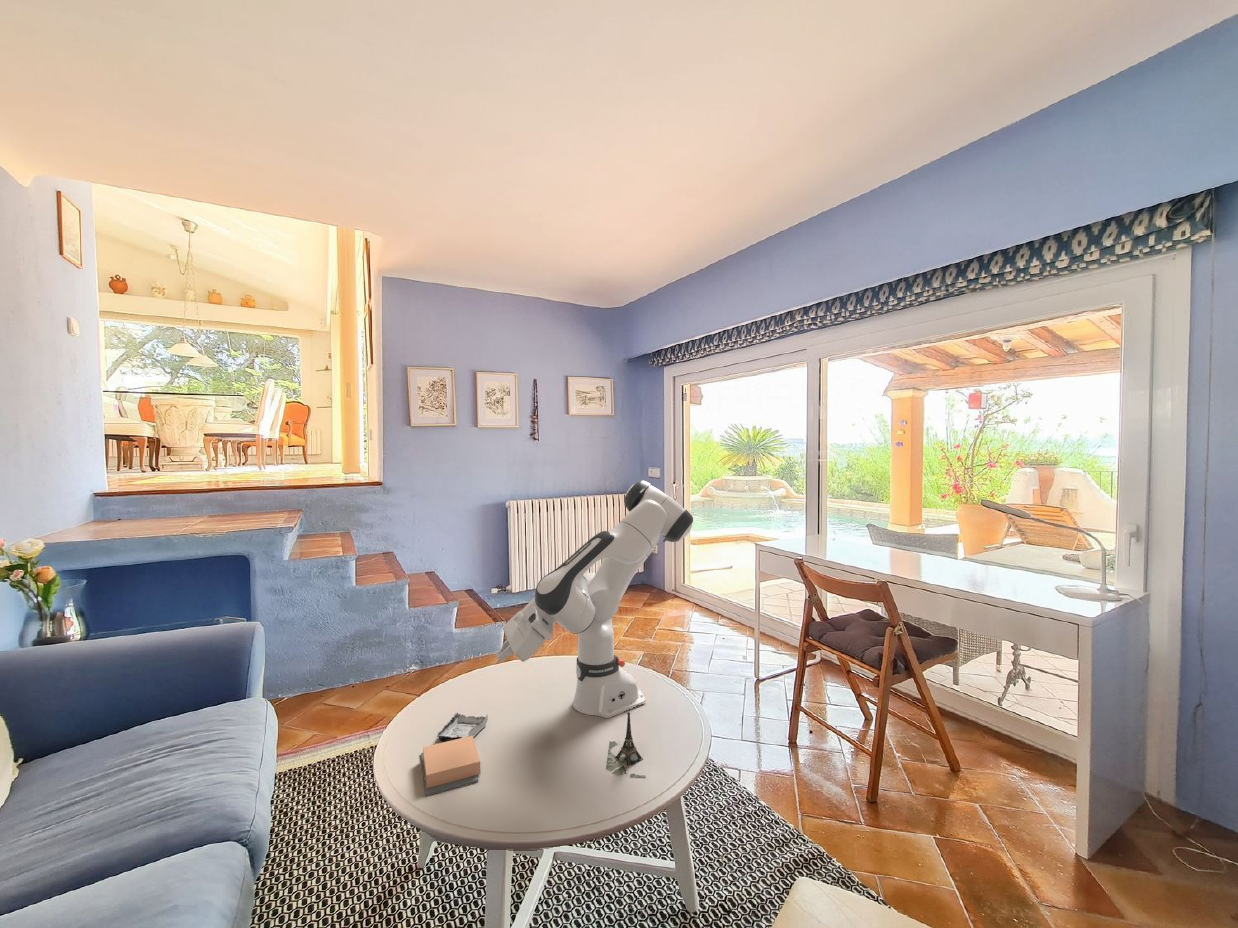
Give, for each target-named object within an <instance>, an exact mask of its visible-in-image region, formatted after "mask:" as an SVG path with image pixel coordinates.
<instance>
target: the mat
mask: <svg viewBox="0 0 1238 928" xmlns="http://www.w3.org/2000/svg"><path fill="white" fill-rule="evenodd" d="M420 756H421V757H420V758H421V765H422V775H423V783H424V793H425V797H428V795H429V796H432V795H435V794H439V793H442V792H447V791H450V790H453V789H457V788H461V787H464V786H469V785H471V784H475V783H479V776H478V775H474V776H470V777H466V778H463V779H459V780H455V781H452V782H448V783H444V784H440V785H437V786H433V787H429V788H426V780H425V771H424V763H423V752H421V753H420Z"/></svg>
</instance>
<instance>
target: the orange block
mask: <svg viewBox="0 0 1238 928" xmlns="http://www.w3.org/2000/svg"><path fill="white" fill-rule="evenodd" d="M422 753H423V763H424V771H425V780H426V788H429V787H433V786H437V785H440V784H444V783H448V782H452V781H455V780H459V779H463V778H466V777H470V776H474V775H477V776H478V775H481V758H480V756H479V751H478V749H477V745H476V743H475V739H474V737H473V736H469V737H464V738H460V739H456V740H452V741H447V742H443V743H440V742H439V743H435V744H431V745H427V746H423V747H422Z"/></svg>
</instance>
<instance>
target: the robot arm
mask: <svg viewBox="0 0 1238 928" xmlns="http://www.w3.org/2000/svg"><path fill="white" fill-rule="evenodd" d="M624 496H625V497H624V499H623V502H624V507H625V508H626V509H627V511H628V513H627V514H626V515H624V517H623V518H622V520H621V521H620V522H618V523H617V525H616V526H615V527H613V528H612V529H611V530H609V531H608V530H601V531H600V532H598V533H597V534H595V535H593V536H592V537H591V538H590V539H589V540H587V541H586V542H585V543H584V544H583V545H581V547H579V548H578V549H577V550H576V551H575V552H574V553H573V554H572V555H570V556H569V557H568V558H567V559H566V560H565V561H563V563H561V564H560V565H559V566H558V567H556V568H555V569H554V570H552V571H550V572H549V573H548V574H546V575H545V576H543V577H542V578H541V579H540V580H539V581H538V583H537V585H536V587H535V592H534V597H533V598H531V600H529V602H528V603H527V604H526V605H525V606H524V607H523V608H522V609H521V610H520V611H518V612H516V613H515V614H514V615H513V616H512V617H511V618H510V619H509V620H508V621H507V622H506V623H505V624H504V626H503V627H502V630H503V632H504V634H505V637H506V640H505V641H504V642H503V644H502V646H501V647H500V649H499V650H498V651H497V652H496V653H495V654H496V657H497V660H498V661H500V663H503V662H504V661H505V660H506V659H507V658H509V657H511V656H512V655H514V656H515V657H516V658H517V659H518V660H520V661H521V662H526V661H528V660H529V659H530V658H531V657H532V656H533V655H535V653H537V651H538V650H540V649H541V647H542V646H543V645H544V643H545V641H547V642H548V641H550V639H552V637H553V636H554V625H555V624H556V623H557V624H558V625H560V626H561V627H562V628H563V629H565V630H566V631H567V632H569V633H570V634H573V635H576V634H577V657H576V667H575V670H576V671H575V672H576V678H577V679H576V687H575V693H574V697H573V702H572V707H573V708H574V710H575V711H577V712H579V713H581V714H585V715H590V716H598V717H602V718H605V719H609V718H612V717H614V716H617V715H620V714H623V713H624V711H625V712H627V711H629V710H628V709H630V710H632V709H634V708H633V707H635V706H637V705H640V706H642V705H641V704H643V703H644V702H645V703H646V696H645V695H644V693H643V692H642V691H641V690H640V689H639V688H638V685H637V681H636V680H635V677H633V676H632V675H631V674H630V673H629V672H628V671H626V670H624V669H623V667H625V665H626V662H625V660H623V659H622V658H620V657H618V656H617V655H615V653H614V650H615V648H614V647H615V646H614V645H615V643H614V642H615V641H614V639H615V637H614V635H615V632H614V627H613V618H614V617H615V615H616V614H617V612H618V610H619V606H620V602H621V600H622V599H623V597H624V595H625V593H626V591H627V589H628V587H629V586H630V583H631V581H632V580H633V578H634V576H635V575H636V574H637V573H638V571H639V570H640V568H641V567H642V566H643V564H644V563H645V562H646V560H647V559H648V558H649V556H650V555H651V553H653V551H654V549H655V548H656V546H657V544H658V543H659V541H660V540H661V536H662V537H664V539H663V540H662V543H665V542H670V543H676V542H677V543H678V542H679V541H680V540H682V539H684V538H685V537H687V536H688V534H689V533H690V532H691V530H692V526H693V522H694V516H693V515H692V513H690V511H688V509H685V508H684V507H683V506H682V505H681V504H680V503H679V502H677V500H675V499H674V498H672V497H671V495H667V493H665V492H663V491H661V490H660V489H659V488H657V487H655V486H653V485H652V483H650V482H648V481H646V480H644V479H643V480H638V481H636V482H635V483H633V484H632V485H631V486H629V488H628V489H627V491H626V493H625V495H624ZM600 560H602V562H601V564H600V566H599V568H598V570H597V571H596V572H587V571H589V569H591V567H593V566H594V565H595V564H596V563H598V561H600ZM643 705H644V704H643ZM635 708H636V707H635ZM626 710H627V711H626Z"/></svg>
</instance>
